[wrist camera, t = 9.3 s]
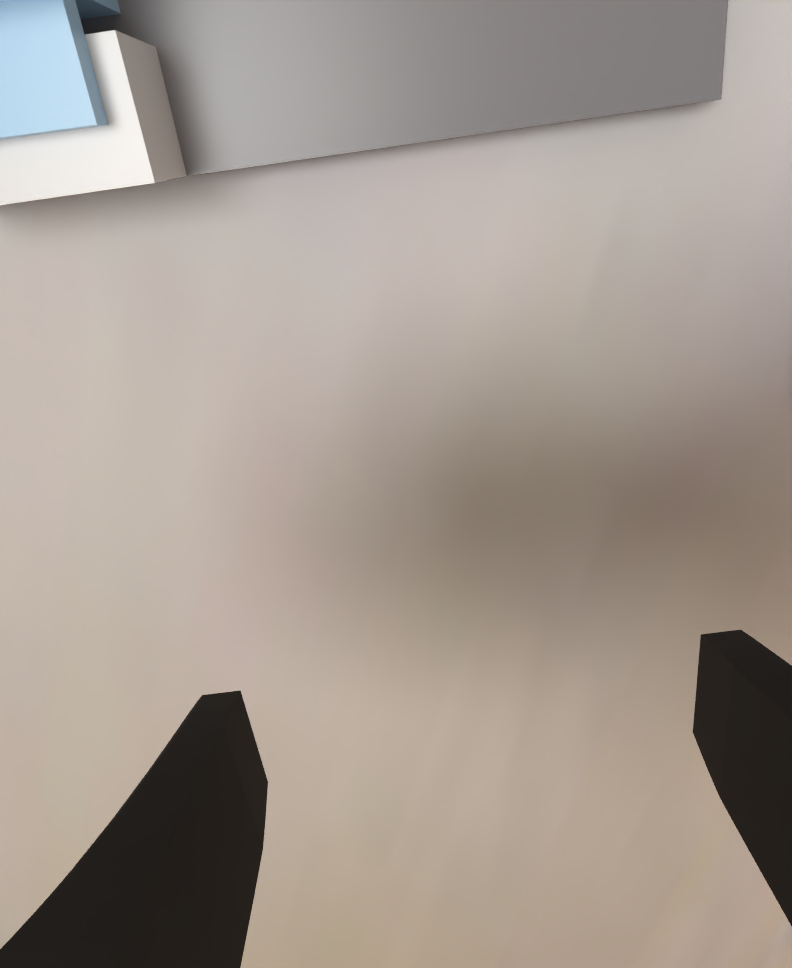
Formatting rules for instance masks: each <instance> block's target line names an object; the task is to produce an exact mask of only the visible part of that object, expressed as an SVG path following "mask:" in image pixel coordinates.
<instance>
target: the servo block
mask: <svg viewBox="0 0 792 968" xmlns="http://www.w3.org/2000/svg"><path fill="white" fill-rule="evenodd" d="M117 14H121V12H120V8H119V4H118V0H0V140H2V139H9V138H17V137H24V136H32V135H39V134H47V133H54V132H62V131H69V130H76V129H84V128H91V127H99V126H106V125H109V124H108V120H107V117H106V113H105V109H104V106H103V102H102V98H101V94H100V91H99V87H98V83H97V80H96V76H95V72H94V68H93V65H92V61H91V57H90V53H89V50H88V46H87V42H86V39H85V35H84V31H83V27H82V24H81V19H88V18H95V17H102V16H110V15H117Z"/></svg>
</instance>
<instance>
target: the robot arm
mask: <svg viewBox="0 0 792 968" xmlns="http://www.w3.org/2000/svg"><path fill="white" fill-rule="evenodd" d="M693 734H694V736H695V739H696V741H697V744H698V746H699V749H700V751H701V754H702V756H703V759H704V761H705V764H706V766H707V769H708V771H709V773H710V776H711V778H712V780H713V783H714V785H715V787H716V790H717V792H718V794H719V796H720V798H721V800H722V802H723V804H724V806H725V808H726V809H727V811H728V813H729V815H730V817H731V819H732V820H733V822H734V824H735V826H736V828H737V829H738V831H739V833H740V835H741V837H742V838H743V840H744V842H745V844H746V846H747V848H748V849H749V851H750V853H751V855H752V856H753V858H754V860H755V862H756V864H757V865H758V867H759V869H760V871H761V872H762V874H763V876H764V878H765V880H766V881H767V883H768V885H769V887H770V888H771V890H772V892H773V894H774V896H775V897H776V899H777V901H778V903H779V905H780V906H781V908H782V910H783V912H784V913H785V915H786V917H787V919H788V921H789V922H790V924H791V926H792V666H791V665H790V664H788V663H787V662H786V661H784V660H783V659H782V658H780V657H779V656H777V655H776V654H775V653H773V652H772V651H770V650H769V649H768V648H766V647H765V646H763V645H762V644H761V643H759V642H758V641H756V640H755V639H754V638H752V637H751V636H749V635H748V634H746V633H745V632H743V631H742V630H735V631H726V632H718V633H710V634H702V635H701V640H700V652H699V665H698V677H697V689H696V701H695V713H694V725H693ZM267 787H268V781H267V778H266V775H265V771H264V768H263V765H262V761H261V758H260V754H259V751H258V748H257V744H256V741H255V738H254V734H253V731H252V728H251V724H250V721H249V718H248V714H247V711H246V708H245V704H244V701H243V698H242V694H241V691H234V692H225V693H217V694H209V695H202V696H201V698H200V699H199V700H198V701H197V703H196V704H195V705H194V707H193V708H192V710H191V711H190V712H189V714H188V715H187V717H186V718H185V720H184V721H183V722H182V724H181V725H180V727H179V728H178V730H177V731H176V733H175V734H174V735H173V737H172V738H171V740H170V741H169V743H168V744H167V745H166V747H165V748H164V750H163V751H162V752H161V754H160V755H159V757H158V758H157V760H156V761H155V762H154V764H153V765H152V767H151V768H150V769H149V771H148V772H147V774H146V775H145V776H144V778H143V779H142V780H141V782H140V783H139V784H138V786H137V787H136V788H135V790H134V791H133V792H132V794H131V795H130V796H129V798H128V799H127V801H126V802H125V803H124V805H123V806H122V807H121V809H120V810H119V811H118V813H117V814H116V815H115V817H114V818H113V819H112V820H111V822H110V823H109V824H108V826H107V827H106V828H105V829H104V830H103V832H102V833H101V834H100V835H99V837H98V838H97V839H96V840H95V842H94V843H93V844H92V845H91V847H90V848H89V849H88V850H87V852H86V853H85V854H84V855H83V857H82V858H81V859H80V860H79V861H78V863H77V864H76V865H75V866H74V868H73V869H72V870H71V871H70V873H69V874H68V875H67V876H66V877H65V878H64V880H63V881H62V882H61V883H60V884H59V885H58V887H57V888H56V889H55V890H54V891H53V892H52V894H51V895H50V896H49V897H48V898H47V899H46V900H45V901H44V903H43V904H42V905H41V906H40V907H39V908H38V909H37V910H36V912H35V913H34V914H33V915H32V916H31V917H30V918H29V919H28V920H27V921H26V922H25V924H24V925H23V926H22V927H21V928H20V929H19V930H18V931H17V932H16V933H15V934H14V935H13V937H12V938H11V939H10V940H9V941H8V942H7V943H6V944H5V945H4V946H3V947H2V948H1V949H0V968H240V966H241V961H242V956H243V951H244V945H245V940H246V935H247V930H248V925H249V920H250V914H251V909H252V904H253V899H254V893H255V888H256V883H257V877H258V872H259V867H260V861H261V856H262V850H263V841H264V829H265V817H266V802H267Z"/></svg>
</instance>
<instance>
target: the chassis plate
mask: <svg viewBox="0 0 792 968" xmlns="http://www.w3.org/2000/svg"><path fill="white" fill-rule="evenodd" d="M118 4H119V8H120V12H121V14H117V15H110V16H102V17H95V18H88V19H81V24H82V27H83V31H84V35H85V39H86V42H87V46H88V50H89V53H90V57H91V61H92V65H93V68H94V72H95V76H96V80H97V83H98V87H99V91H100V94H101V98H102V102H103V106H104V109H105V113H106V117H107V120H108V124H109V125H106V126H99V127H91V128H84V129H76V130H69V131H62V132H54V133H47V134H39V135H32V136H24V137H17V138H9V139H2V140H0V205H5V204H12V203H19V202H26V201H33V200H40V199H47V198H54V197H61V196H68V195H75V194H82V193H89V192H95V191H102V190H109V189H116V188H123V187H130V186H137V185H144V184H151V183H157V182H162V181H166V180H171V179H176V178H180V177H185V176H191V175H198V174H205V173H212V172H219V171H226V170H233V169H240V168H247V167H254V166H261V165H268V164H275V163H282V162H289V161H296V160H303V159H310V158H316V157H323V156H330V155H337V154H344V153H351V152H358V151H365V150H372V149H379V148H386V147H393V146H400V145H407V144H414V143H421V142H428V141H435V140H442V139H449V138H456V137H463V136H470V135H477V134H483V133H490V132H497V131H504V130H511V129H518V128H525V127H532V126H539V125H546V124H553V123H560V122H567V121H574V120H581V119H588V118H595V117H602V116H609V115H616V114H623V113H630V112H637V111H644V110H650V109H657V108H664V107H671V106H678V105H685V104H692V103H699V102H706V101H713V100H720V99H721V95H722V81H723V66H724V52H725V37H726V23H727V8H728V0H118Z"/></svg>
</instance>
